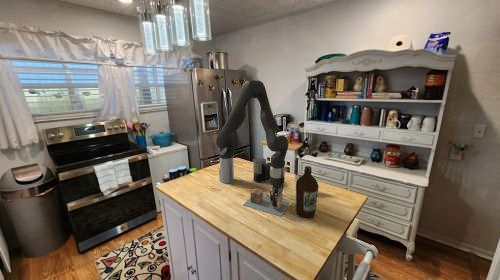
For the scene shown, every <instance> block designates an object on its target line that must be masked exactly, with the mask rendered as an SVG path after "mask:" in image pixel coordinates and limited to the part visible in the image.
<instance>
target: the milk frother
mask: <svg viewBox="0 0 500 280" xmlns="http://www.w3.org/2000/svg"><path fill="white" fill-rule="evenodd" d="M252 162H253V163H252V164H253V168H252V169H253V170H252V171H253V178H252V180H253V182H255V183H264V182H266V181H270V167H271V165H270V164H269V163H267V159H266V158H264V157H256V158H253V159H252Z"/></svg>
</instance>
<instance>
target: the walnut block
mask: <svg viewBox="0 0 500 280" xmlns="http://www.w3.org/2000/svg"><path fill="white" fill-rule="evenodd" d="M263 196H264V191H263V190H262V189H259V188H253V190H251V191H250V197H251V202H252V203H255V204H259V203H260V202H261V201H262V200H263Z"/></svg>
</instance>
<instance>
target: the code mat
mask: <svg viewBox="0 0 500 280" xmlns="http://www.w3.org/2000/svg"><path fill="white" fill-rule="evenodd" d="M289 205H290V202H289V201H285V200H283V204H282V205H281V206H280V208H277V207H273V206H270V196H265V195H263V200H262V201H261V202H260V203H259V204H255V203H252V202H251V196H250V197H249V198H248V199H247V200H246V201H245V202H244V203H243V204H242V206H243V207H247V208H250V209H253V210H257V211H261V212H264V213H268V214H271V215H273V216H278V217H282V216H283V214H284V213H285V211H286V210H287V209H288V206H289Z"/></svg>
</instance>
